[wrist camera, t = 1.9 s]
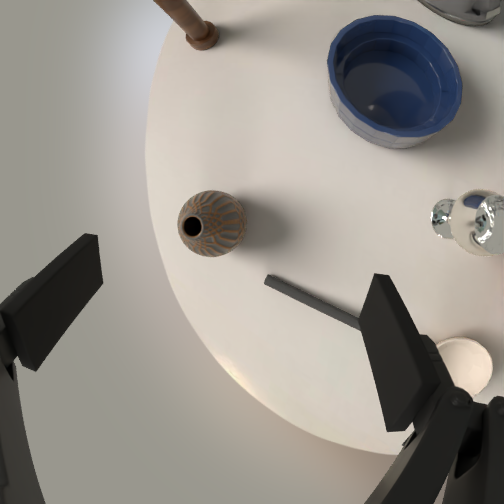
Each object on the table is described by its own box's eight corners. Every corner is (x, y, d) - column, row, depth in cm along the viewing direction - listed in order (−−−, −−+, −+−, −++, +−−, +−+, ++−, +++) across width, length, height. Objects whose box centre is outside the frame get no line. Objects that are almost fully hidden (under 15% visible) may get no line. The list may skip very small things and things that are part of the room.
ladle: (464, 396, 32) (471, 414, 27) (265, 299, 41) (252, 308, 37) (497, 346, 30) (508, 359, 26) (289, 242, 39) (279, 245, 35)
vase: (192, 197, 37) (154, 196, 29) (248, 187, 36) (222, 181, 27) (201, 254, 38) (165, 268, 30) (257, 248, 36) (234, 260, 28)
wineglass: (418, 233, 32) (458, 246, 20) (434, 184, 30) (479, 175, 19) (460, 251, 31) (510, 271, 19) (475, 204, 29) (530, 204, 18)
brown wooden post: (201, 23, 34) (125, -59, 16) (224, 30, 33) (154, -60, 15) (185, 45, 35) (98, -29, 17) (208, 54, 34) (125, -28, 16)
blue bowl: (361, 25, 29) (364, -4, 23) (458, 85, 28) (478, 65, 21) (307, 107, 33) (301, 86, 26) (411, 173, 31) (428, 166, 25)
